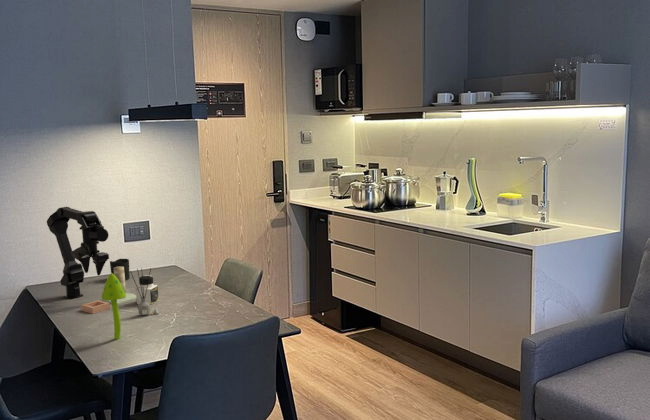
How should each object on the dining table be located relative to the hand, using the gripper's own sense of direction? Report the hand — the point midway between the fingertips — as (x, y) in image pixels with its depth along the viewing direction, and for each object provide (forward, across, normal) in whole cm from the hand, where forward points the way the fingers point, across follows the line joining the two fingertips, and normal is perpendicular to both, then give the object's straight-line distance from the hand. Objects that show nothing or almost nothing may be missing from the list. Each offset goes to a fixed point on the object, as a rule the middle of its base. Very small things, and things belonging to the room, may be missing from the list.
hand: (92, 273), depth 280 cm
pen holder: (+13, -25, +32) cm, 43 cm away
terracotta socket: (+13, +11, -7) cm, 18 cm away
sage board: (+13, +7, +9) cm, 17 cm away
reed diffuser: (+13, +36, 0) cm, 38 cm away
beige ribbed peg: (+12, +7, +9) cm, 17 cm away
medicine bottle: (+13, +22, +12) cm, 28 cm away
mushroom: (+13, +51, -25) cm, 58 cm away
